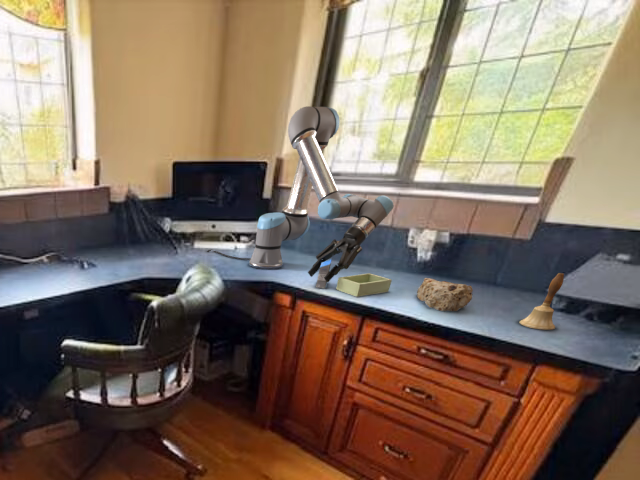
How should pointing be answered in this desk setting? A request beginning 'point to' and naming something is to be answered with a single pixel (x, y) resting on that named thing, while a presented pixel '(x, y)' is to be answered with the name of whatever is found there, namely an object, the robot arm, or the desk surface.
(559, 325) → the desk surface
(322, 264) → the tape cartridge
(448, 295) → the rock
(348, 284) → the dock
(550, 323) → the hand bell
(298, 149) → the robot arm
